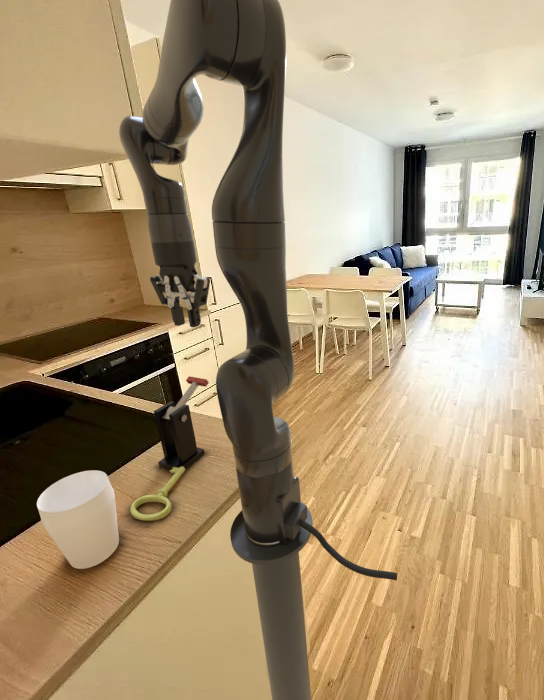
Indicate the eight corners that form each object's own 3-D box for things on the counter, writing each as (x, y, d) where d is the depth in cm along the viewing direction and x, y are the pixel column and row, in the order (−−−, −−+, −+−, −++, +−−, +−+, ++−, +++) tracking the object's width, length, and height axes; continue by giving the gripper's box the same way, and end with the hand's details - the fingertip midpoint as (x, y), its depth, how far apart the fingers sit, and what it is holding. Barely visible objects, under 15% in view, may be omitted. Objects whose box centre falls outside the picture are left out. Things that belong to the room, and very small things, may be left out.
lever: (192, 381, 81) (187, 374, 80) (210, 384, 80) (205, 377, 78) (163, 422, 75) (156, 416, 73) (181, 426, 73) (175, 420, 71)
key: (187, 472, 74) (185, 464, 73) (167, 520, 62) (165, 510, 61) (151, 476, 73) (149, 467, 72) (124, 524, 61) (121, 515, 61)
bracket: (183, 447, 82) (173, 398, 77) (204, 453, 80) (195, 402, 75) (159, 466, 76) (146, 413, 71) (180, 473, 74) (169, 419, 69)
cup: (52, 586, 51) (24, 522, 47) (69, 537, 59) (47, 479, 55) (123, 564, 54) (103, 501, 50) (131, 520, 62) (114, 463, 58)
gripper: (215, 238, 69) (226, 323, 75) (160, 238, 75) (175, 318, 81) (186, 240, 63) (201, 334, 69) (128, 240, 68) (147, 327, 74)
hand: (187, 325), depth 75 cm, fingers open, 3 cm apart
